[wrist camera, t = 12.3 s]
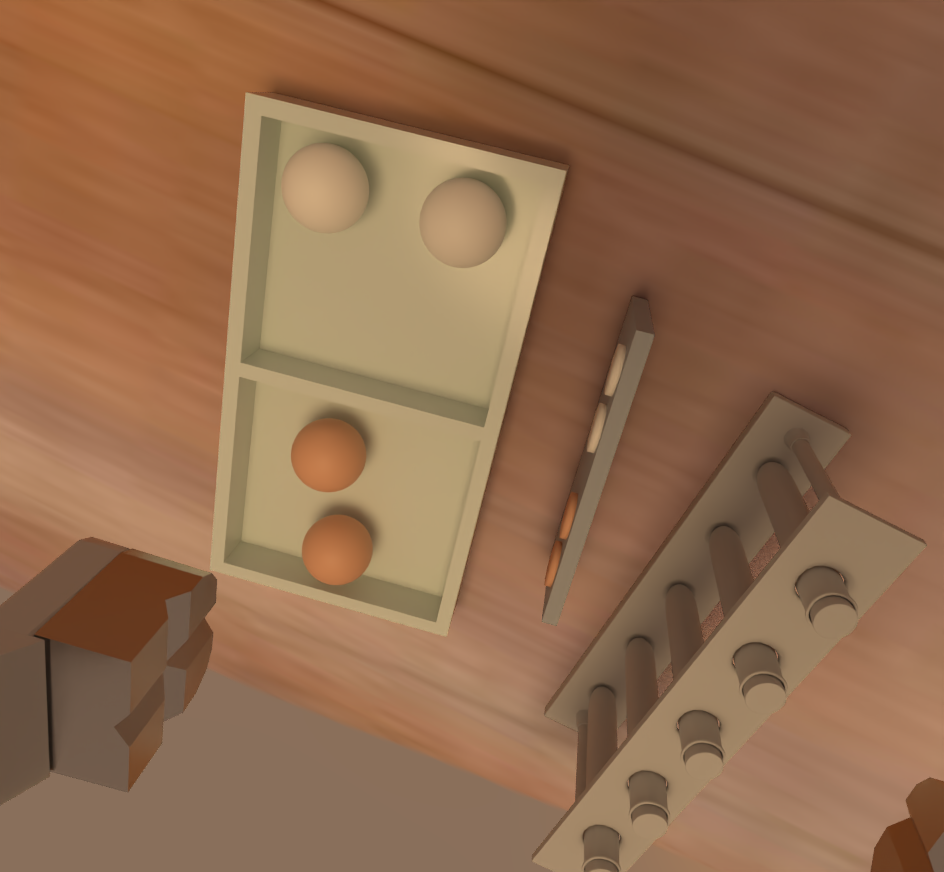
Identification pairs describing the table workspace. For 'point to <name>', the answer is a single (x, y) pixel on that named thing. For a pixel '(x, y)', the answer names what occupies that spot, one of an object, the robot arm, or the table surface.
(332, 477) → the terracotta ball
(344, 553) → the terracotta ball
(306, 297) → the twin dish
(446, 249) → the ivory ball
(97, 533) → the table surface
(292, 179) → the ivory ball
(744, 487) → the test tube rack
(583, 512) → the card
